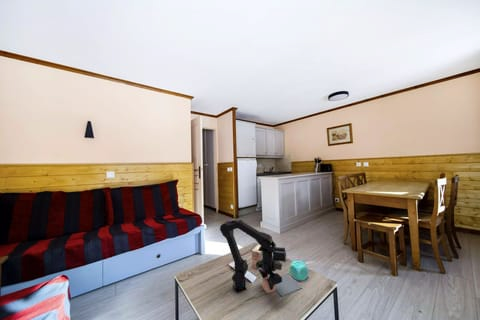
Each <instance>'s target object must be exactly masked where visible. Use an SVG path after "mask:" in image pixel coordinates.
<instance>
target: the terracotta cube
mask: <svg viewBox="0 0 480 320" xmlns="http://www.w3.org/2000/svg"><path fill="white" fill-rule="evenodd" d="M269 276H270V275H268V277H265V278H262V277H261V278H262V289H264V291H265V292H266V293H267V294H268V293H271V292H275V291H276V290H275V285H274V286H273V290H270V287H269V285H268V282H267V279H269Z"/></svg>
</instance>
